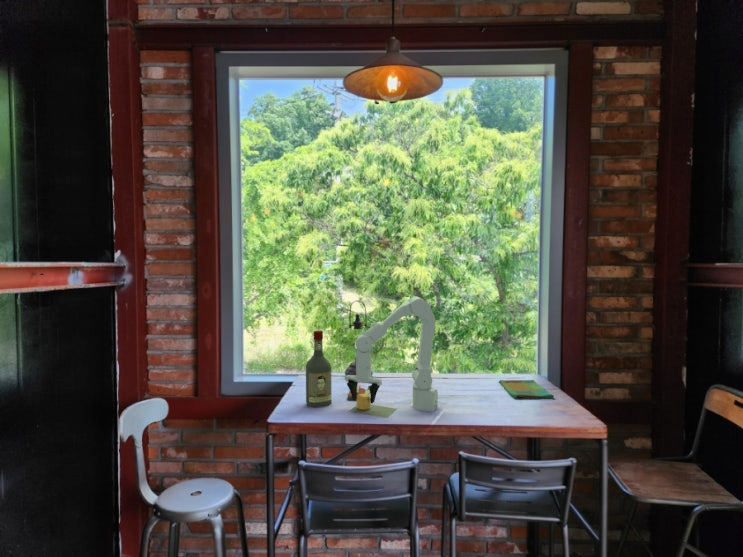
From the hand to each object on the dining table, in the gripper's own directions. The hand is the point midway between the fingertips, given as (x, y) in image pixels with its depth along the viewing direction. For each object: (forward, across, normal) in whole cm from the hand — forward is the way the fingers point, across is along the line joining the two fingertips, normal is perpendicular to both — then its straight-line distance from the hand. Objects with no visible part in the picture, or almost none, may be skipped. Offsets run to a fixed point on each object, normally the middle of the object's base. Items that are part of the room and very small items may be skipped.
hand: (363, 401), depth 167 cm
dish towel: (+5, +54, +52) cm, 75 cm away
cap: (+2, 0, 0) cm, 2 cm away
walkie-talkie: (+5, -9, +15) cm, 18 cm away
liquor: (+4, -19, -2) cm, 20 cm away
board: (+4, +4, 0) cm, 6 cm away
